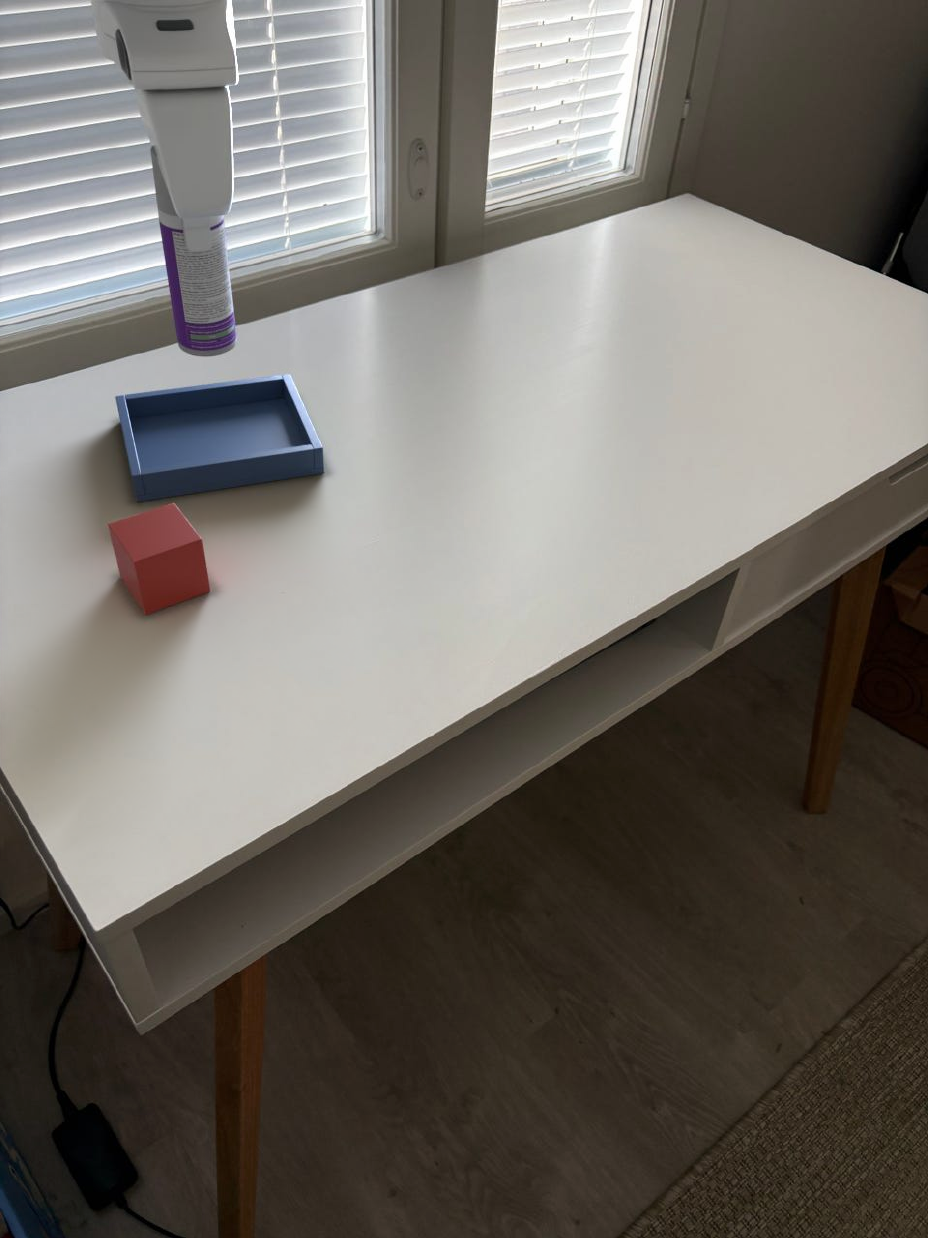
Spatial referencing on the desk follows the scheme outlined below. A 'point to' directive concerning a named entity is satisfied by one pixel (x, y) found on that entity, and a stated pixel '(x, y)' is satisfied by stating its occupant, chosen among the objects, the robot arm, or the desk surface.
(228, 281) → the container
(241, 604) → the desk surface
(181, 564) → the red block
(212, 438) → the tray
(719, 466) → the desk surface
